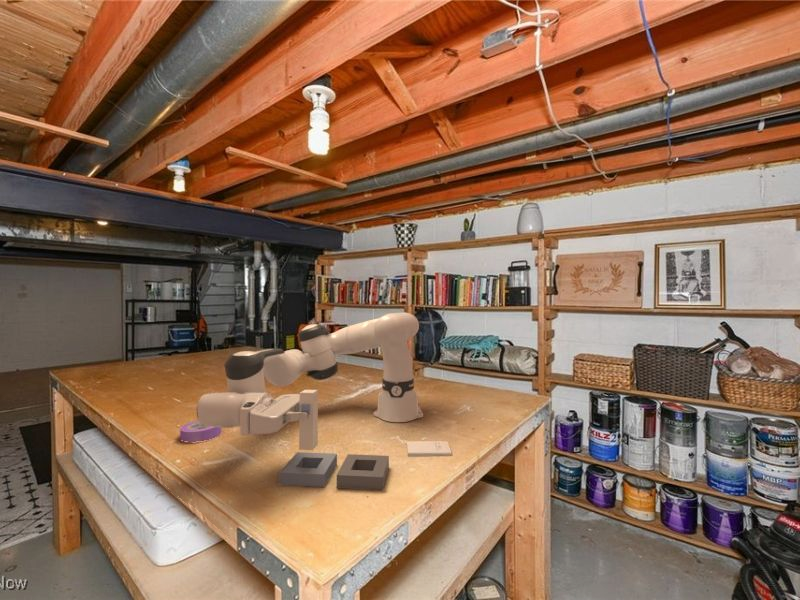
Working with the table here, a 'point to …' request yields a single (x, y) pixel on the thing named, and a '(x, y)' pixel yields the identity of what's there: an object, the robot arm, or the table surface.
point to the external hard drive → (428, 448)
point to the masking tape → (198, 432)
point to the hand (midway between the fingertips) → (311, 411)
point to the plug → (308, 420)
